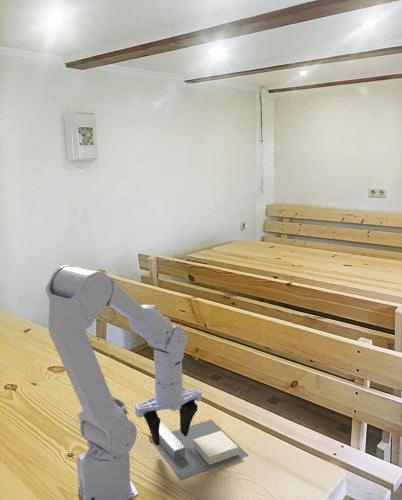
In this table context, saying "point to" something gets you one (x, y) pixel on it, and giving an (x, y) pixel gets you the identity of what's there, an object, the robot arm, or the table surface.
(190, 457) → the mat
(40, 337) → the table surface
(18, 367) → the table surface
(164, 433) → the bar
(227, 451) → the tile
